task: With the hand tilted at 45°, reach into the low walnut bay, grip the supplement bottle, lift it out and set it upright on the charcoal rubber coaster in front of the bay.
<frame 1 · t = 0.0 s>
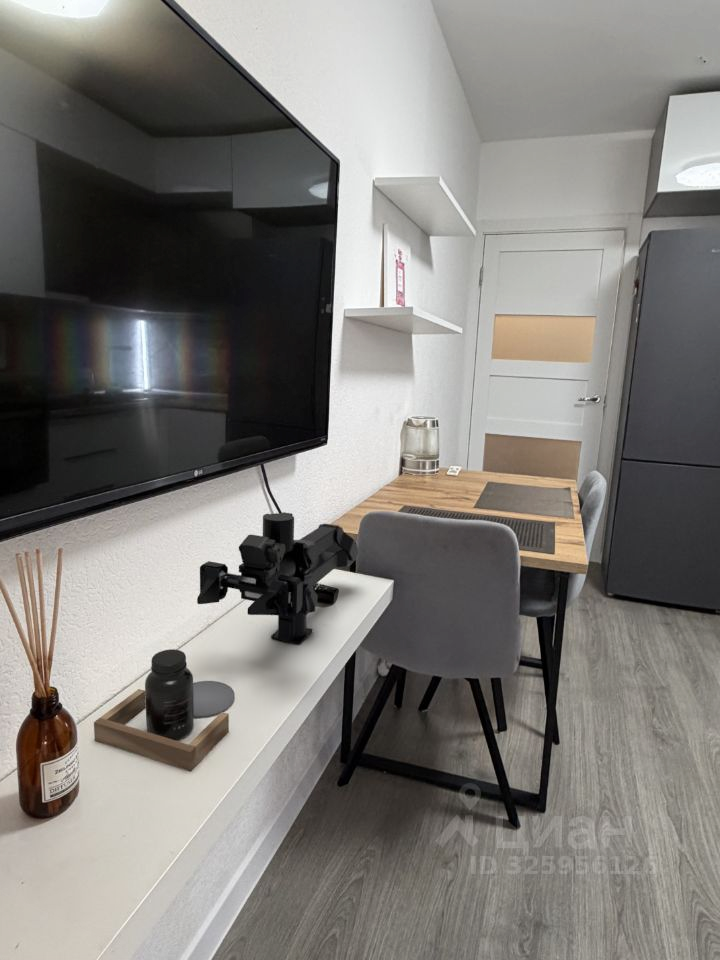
hand: (222, 606, 94), 17 cm above the table, tool horizontal, fingers open, 9 cm apart
coaster: (203, 699, 97), on the table
walnut bay: (170, 729, 90), on the table
supplement bottle: (170, 730, 90), on the table
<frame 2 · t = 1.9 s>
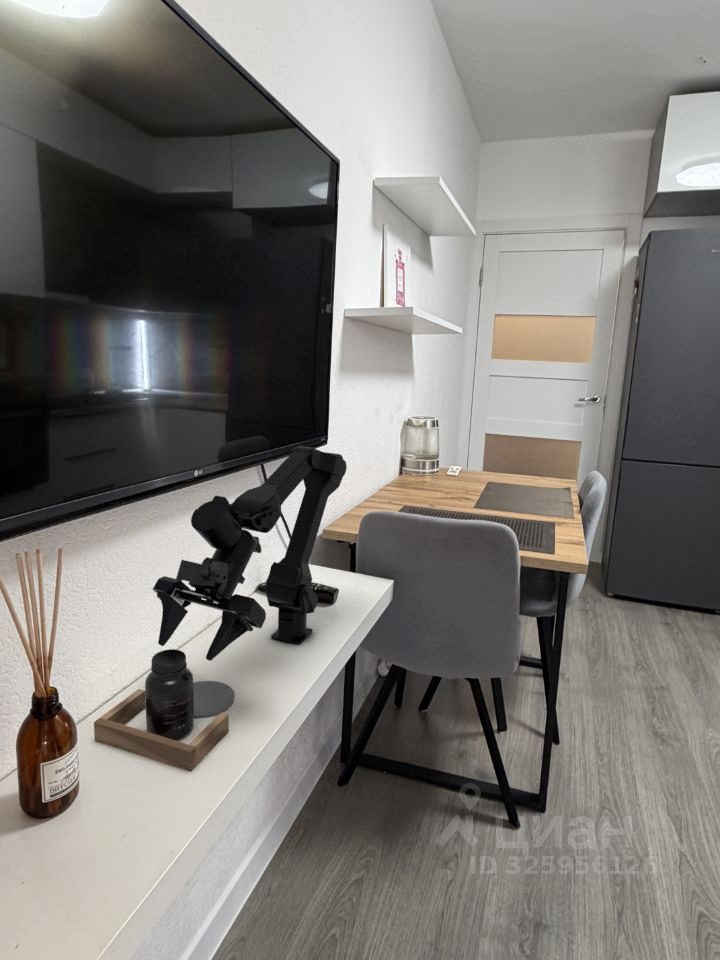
hand: (183, 652, 91), 11 cm above the table, tool tilted 45°, fingers open, 9 cm apart
nothing on the table moved.
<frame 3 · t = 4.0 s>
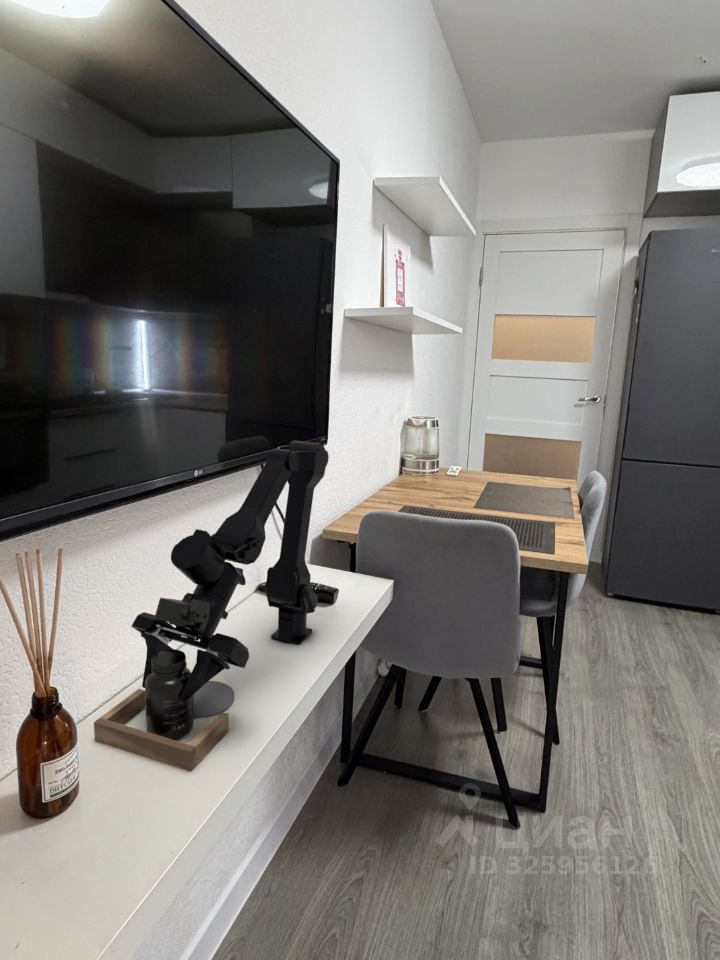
hand: (163, 694, 87), 7 cm above the table, tool tilted 45°, fingers closed on supplement bottle, 7 cm apart
supplement bottle: (170, 730, 90), on the table, touching gripper
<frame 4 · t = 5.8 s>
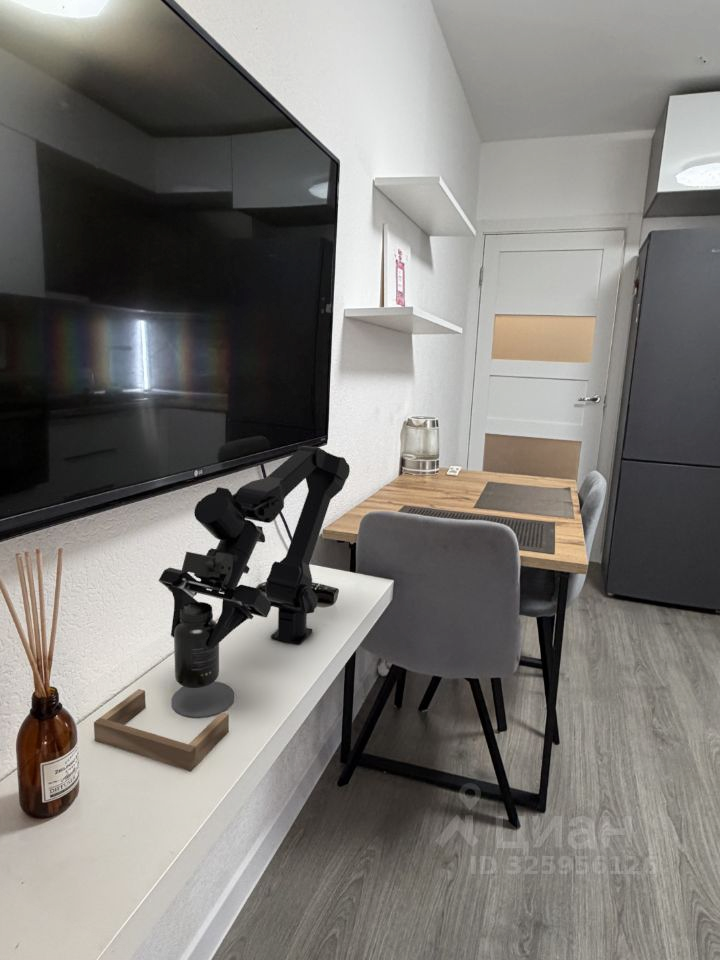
hand: (191, 642, 92), 12 cm above the table, tool tilted 45°, fingers closed on supplement bottle, 7 cm apart
supplement bottle: (197, 678, 95), point 5 cm above the table, touching gripper
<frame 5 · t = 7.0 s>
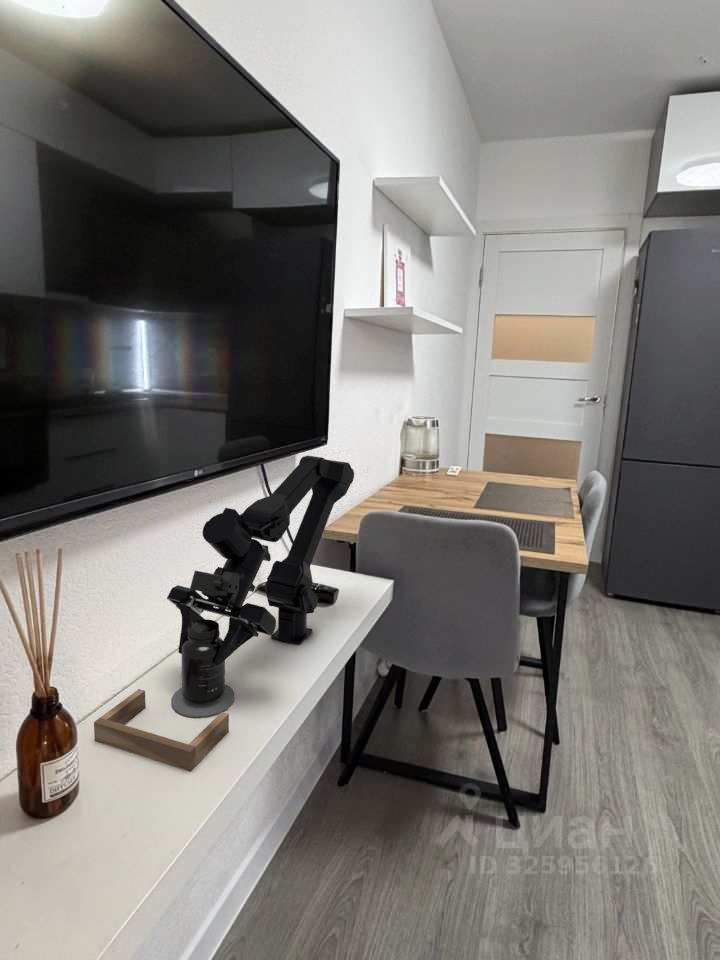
hand: (198, 659, 95), 8 cm above the table, tool tilted 45°, fingers closed on supplement bottle, 7 cm apart
supplement bottle: (203, 694, 97), point 1 cm above the table, touching gripper
when the fingers open (8 cm above the table, at t = 7.9 s): supplement bottle stays where it is, resting on coaster.
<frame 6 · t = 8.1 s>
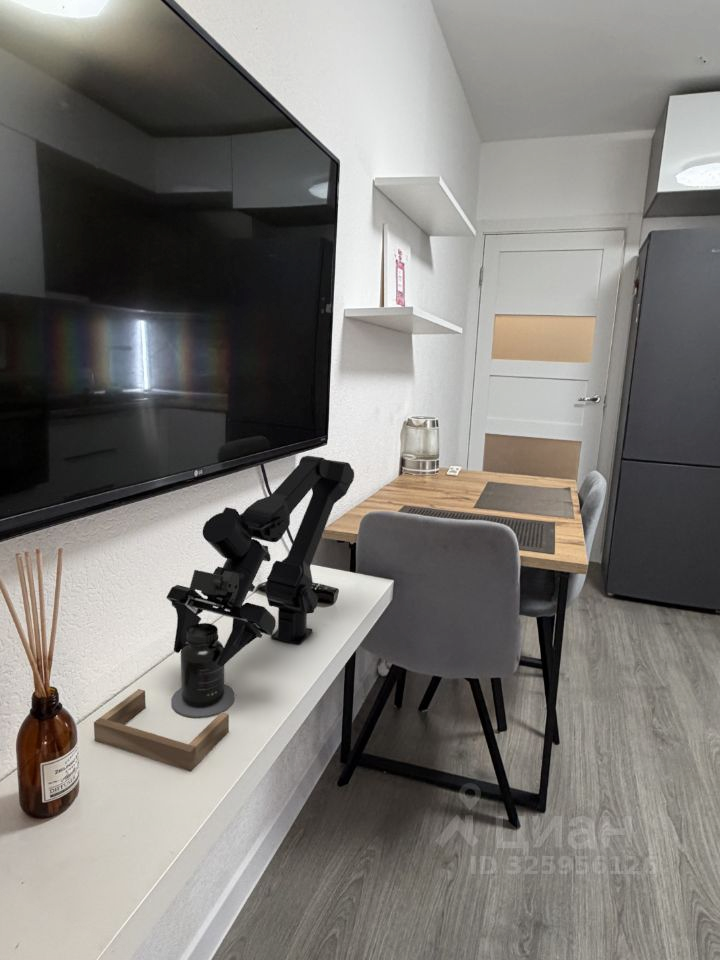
hand: (197, 658, 95), 8 cm above the table, tool tilted 45°, fingers open, 8 cm apart
supplement bottle: (203, 698, 97), resting on coaster
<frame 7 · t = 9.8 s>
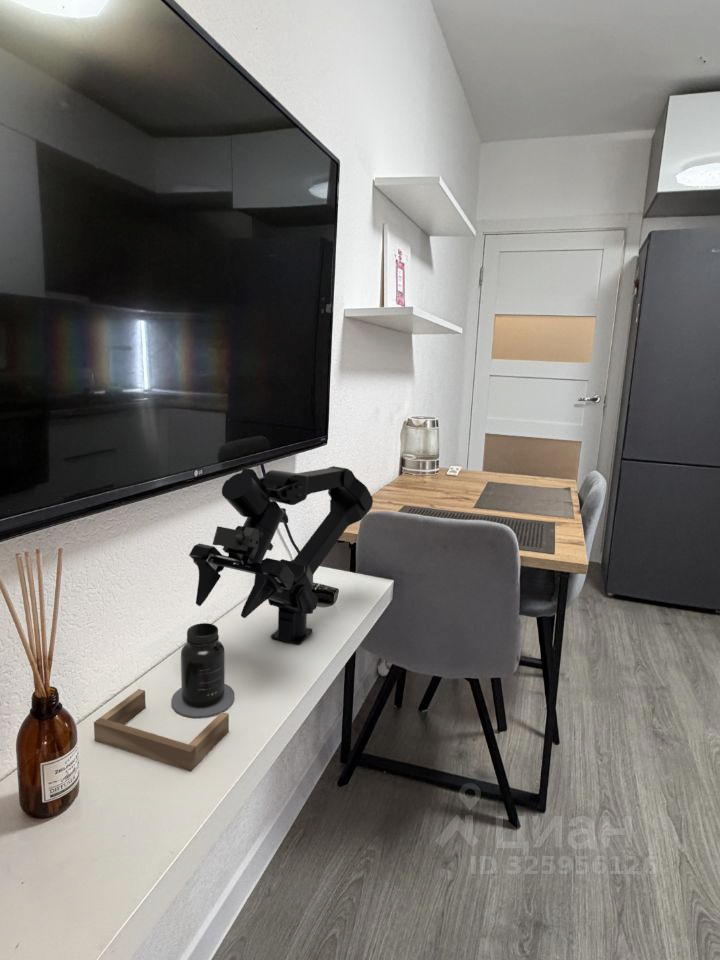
hand: (219, 610, 99), 14 cm above the table, tool tilted 45°, fingers open, 9 cm apart
nothing on the table moved.
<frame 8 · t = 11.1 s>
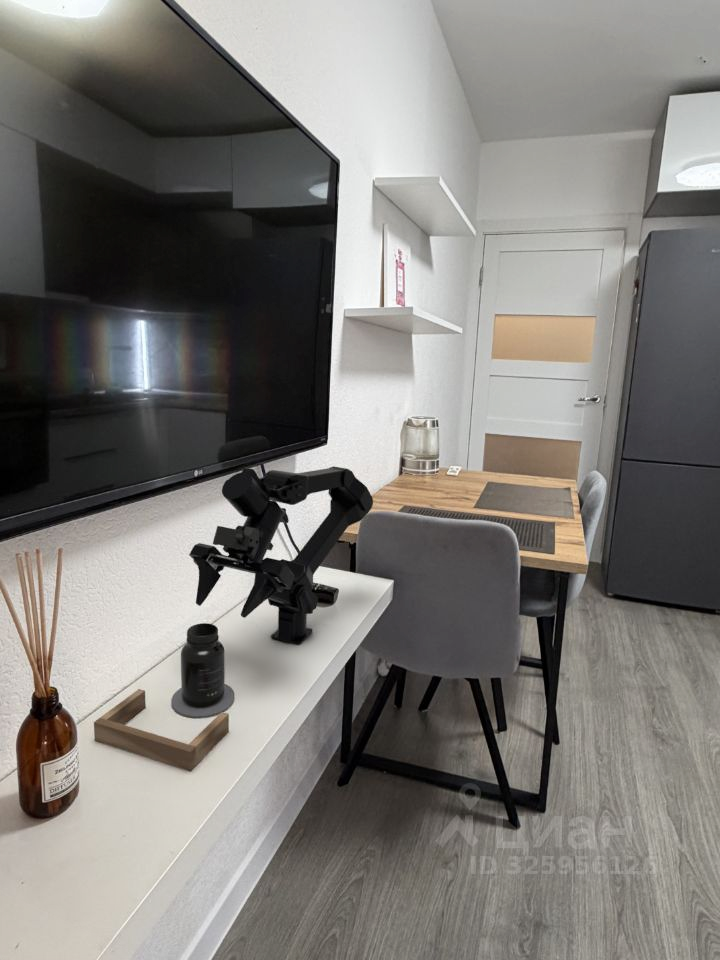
hand: (219, 610, 99), 14 cm above the table, tool tilted 45°, fingers open, 9 cm apart
nothing on the table moved.
at the end: supplement bottle 0.0 cm off-centre on the coaster, point 0.3 cm above the coaster's base; supplement bottle tilted 0°; the gripper is holding nothing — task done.
